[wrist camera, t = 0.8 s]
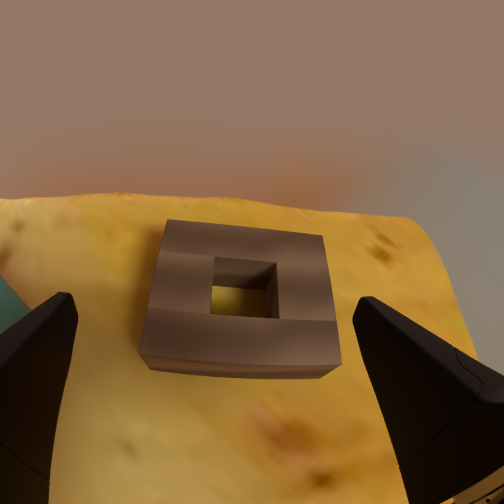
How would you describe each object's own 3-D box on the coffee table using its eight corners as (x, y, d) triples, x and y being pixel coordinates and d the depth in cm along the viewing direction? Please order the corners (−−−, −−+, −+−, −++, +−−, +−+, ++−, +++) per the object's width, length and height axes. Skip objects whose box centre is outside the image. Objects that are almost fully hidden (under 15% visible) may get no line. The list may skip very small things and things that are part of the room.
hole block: (319, 378, 22) (341, 364, 19) (150, 369, 21) (139, 353, 17) (307, 263, 30) (322, 235, 26) (170, 250, 28) (167, 219, 25)
